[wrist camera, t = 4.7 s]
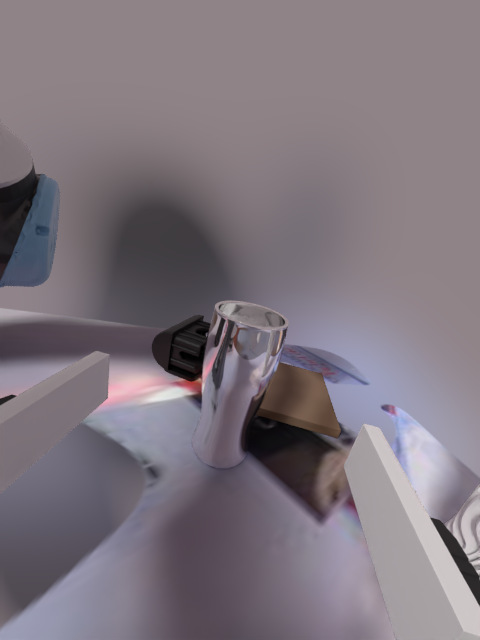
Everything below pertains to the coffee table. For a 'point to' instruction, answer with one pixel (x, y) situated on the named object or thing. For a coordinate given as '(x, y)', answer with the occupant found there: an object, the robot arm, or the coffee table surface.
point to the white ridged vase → (468, 528)
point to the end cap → (182, 348)
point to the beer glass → (236, 378)
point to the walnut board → (300, 401)
